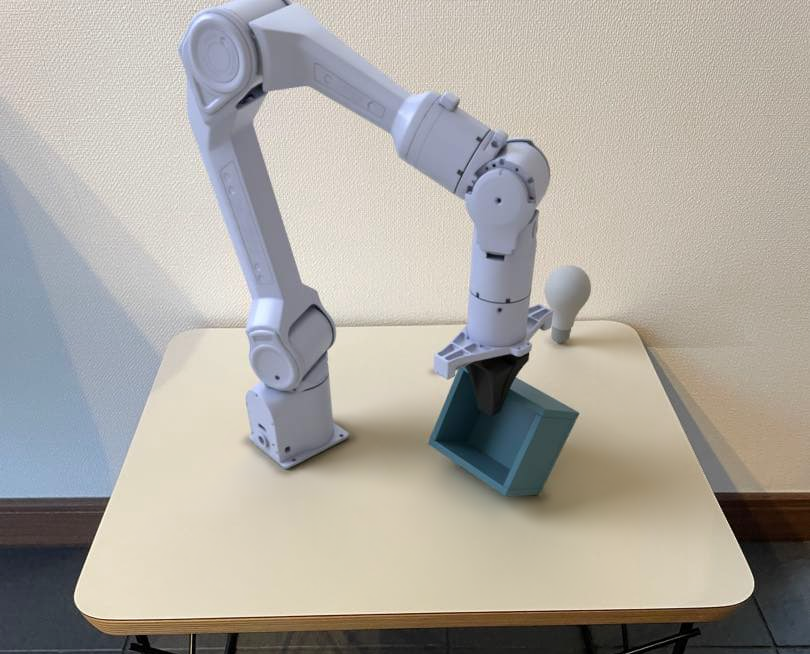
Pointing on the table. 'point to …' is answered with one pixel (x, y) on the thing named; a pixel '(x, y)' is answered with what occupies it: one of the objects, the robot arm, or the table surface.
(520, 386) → the teal open box
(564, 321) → the lightbulb
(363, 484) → the table surface
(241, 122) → the robot arm
